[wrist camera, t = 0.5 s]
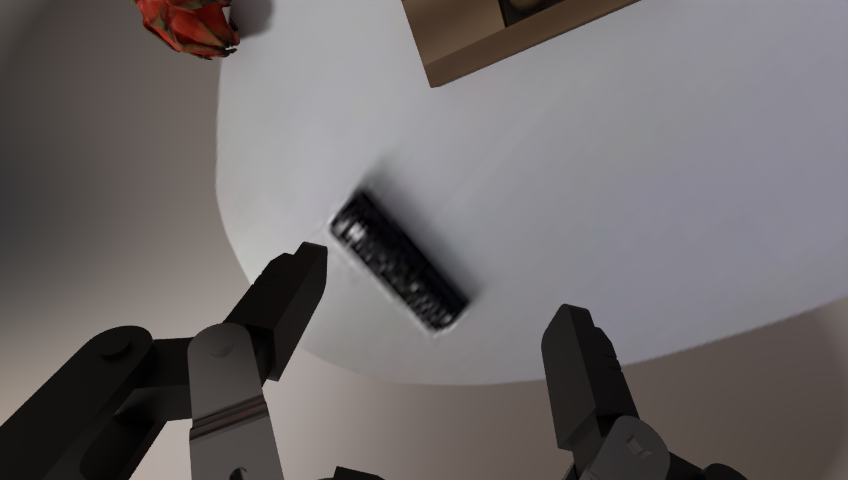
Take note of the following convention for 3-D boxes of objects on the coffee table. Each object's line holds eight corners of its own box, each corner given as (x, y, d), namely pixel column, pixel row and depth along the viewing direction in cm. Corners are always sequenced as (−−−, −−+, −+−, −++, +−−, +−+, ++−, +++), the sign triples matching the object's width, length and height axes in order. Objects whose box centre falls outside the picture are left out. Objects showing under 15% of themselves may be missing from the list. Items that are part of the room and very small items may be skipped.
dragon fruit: (184, -39, 39) (273, 45, 42) (128, 15, 39) (222, 97, 41) (141, -105, 31) (255, 5, 34) (70, -38, 30) (191, 69, 33)
